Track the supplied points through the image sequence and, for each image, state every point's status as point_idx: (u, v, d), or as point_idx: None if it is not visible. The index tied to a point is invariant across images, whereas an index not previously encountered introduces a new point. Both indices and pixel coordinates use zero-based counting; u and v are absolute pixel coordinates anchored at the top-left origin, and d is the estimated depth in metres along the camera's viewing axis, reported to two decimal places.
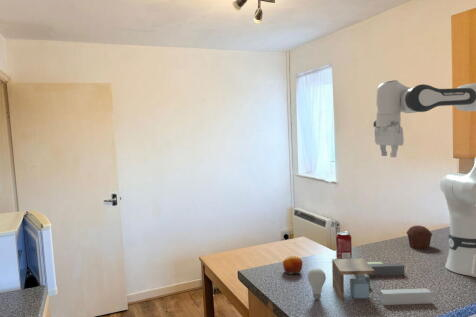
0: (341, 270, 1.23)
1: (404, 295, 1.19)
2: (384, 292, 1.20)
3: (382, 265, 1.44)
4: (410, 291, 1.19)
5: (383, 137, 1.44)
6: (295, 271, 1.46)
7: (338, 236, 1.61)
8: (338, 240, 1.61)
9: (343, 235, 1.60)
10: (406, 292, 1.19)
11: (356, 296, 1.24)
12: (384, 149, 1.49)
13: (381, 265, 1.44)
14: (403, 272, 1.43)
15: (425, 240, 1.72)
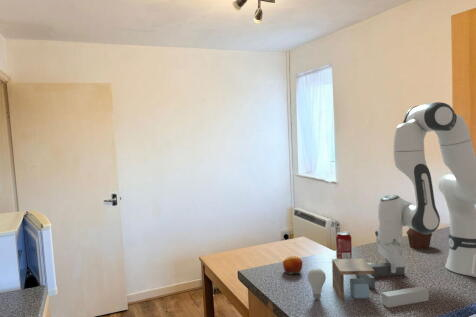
0: (341, 270, 1.23)
1: (405, 295, 1.18)
2: (387, 294, 1.18)
3: (383, 265, 1.43)
4: (410, 291, 1.20)
5: (385, 250, 1.44)
6: (295, 271, 1.46)
7: (338, 236, 1.61)
8: (338, 240, 1.61)
9: (343, 235, 1.60)
10: (407, 292, 1.19)
11: (356, 296, 1.24)
12: (388, 261, 1.47)
13: (382, 265, 1.43)
14: (403, 271, 1.43)
15: (425, 240, 1.72)
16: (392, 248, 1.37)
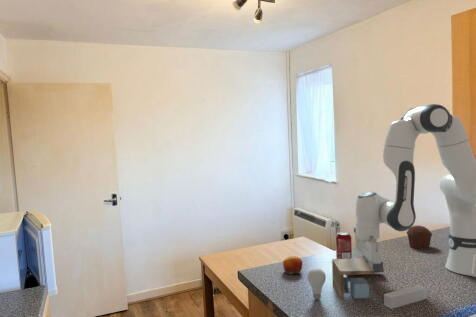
0: (341, 270, 1.23)
1: (406, 295, 1.18)
2: (390, 296, 1.17)
3: None
4: (410, 291, 1.20)
5: (362, 247, 1.44)
6: (295, 271, 1.46)
7: (338, 236, 1.61)
8: (338, 240, 1.61)
9: (343, 235, 1.60)
10: (408, 292, 1.19)
11: (356, 296, 1.24)
12: (366, 258, 1.47)
13: None
14: (382, 268, 1.43)
15: (425, 240, 1.72)
16: (368, 245, 1.37)
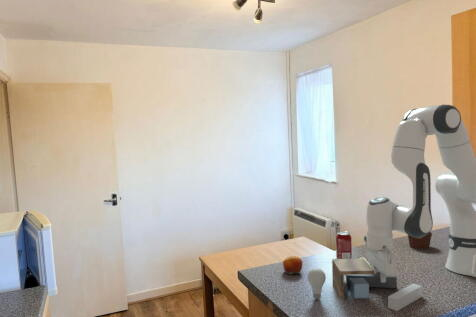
0: (341, 270, 1.23)
1: (408, 295, 1.18)
2: (395, 297, 1.15)
3: (371, 275, 1.33)
4: (409, 290, 1.20)
5: (374, 257, 1.33)
6: (295, 271, 1.46)
7: (338, 236, 1.61)
8: (338, 240, 1.61)
9: (343, 235, 1.60)
10: (408, 292, 1.19)
11: (356, 296, 1.24)
12: (378, 269, 1.35)
13: (370, 275, 1.33)
14: (396, 284, 1.30)
15: (425, 240, 1.72)
16: (381, 256, 1.25)
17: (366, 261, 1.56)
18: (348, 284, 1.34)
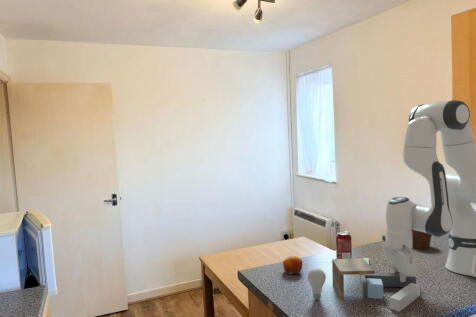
0: (341, 270, 1.23)
1: (408, 295, 1.18)
2: (397, 298, 1.15)
3: (390, 275, 1.32)
4: (409, 290, 1.20)
5: (393, 257, 1.32)
6: (295, 271, 1.46)
7: (338, 236, 1.61)
8: (338, 240, 1.61)
9: (343, 235, 1.60)
10: (409, 292, 1.19)
11: (369, 296, 1.24)
12: (396, 268, 1.35)
13: (389, 275, 1.32)
14: None
15: (425, 240, 1.72)
16: (401, 255, 1.25)
17: (367, 261, 1.56)
18: None
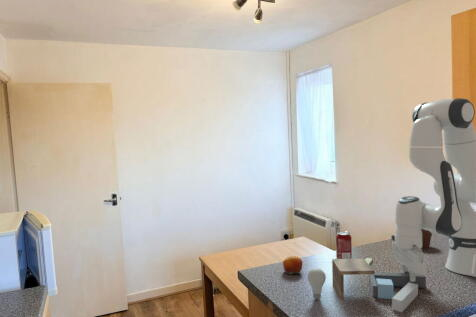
0: (341, 270, 1.23)
1: (409, 295, 1.18)
2: (399, 299, 1.14)
3: (400, 274, 1.32)
4: (409, 290, 1.20)
5: (403, 256, 1.32)
6: (295, 271, 1.46)
7: (338, 236, 1.61)
8: (338, 240, 1.61)
9: (343, 235, 1.60)
10: (409, 292, 1.19)
11: (380, 296, 1.24)
12: (406, 268, 1.35)
13: (398, 274, 1.32)
14: (425, 283, 1.29)
15: (425, 240, 1.72)
16: (412, 254, 1.25)
17: (368, 261, 1.55)
18: None
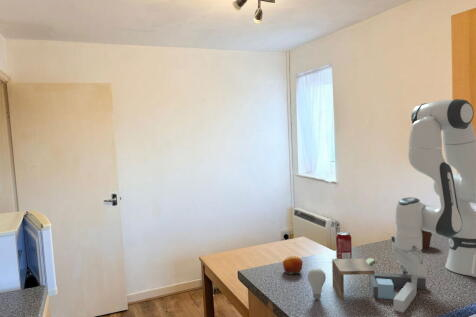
0: (341, 270, 1.23)
1: (409, 295, 1.18)
2: (400, 299, 1.14)
3: (400, 276, 1.32)
4: (408, 290, 1.21)
5: (403, 258, 1.32)
6: (295, 271, 1.46)
7: (338, 236, 1.61)
8: (338, 240, 1.61)
9: (343, 235, 1.60)
10: (409, 292, 1.19)
11: (380, 296, 1.24)
12: (404, 268, 1.36)
13: (399, 276, 1.32)
14: (424, 285, 1.29)
15: (425, 240, 1.72)
16: (412, 256, 1.25)
17: (369, 262, 1.55)
18: None
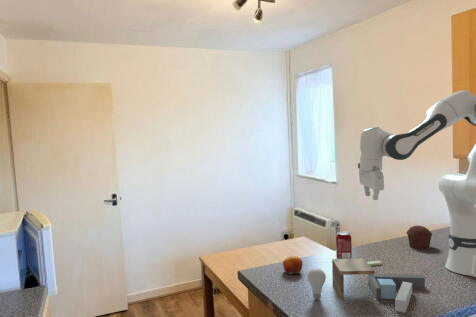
0: (341, 270, 1.23)
1: (408, 294, 1.19)
2: (402, 299, 1.14)
3: (399, 276, 1.32)
4: (407, 289, 1.21)
5: (366, 179, 1.54)
6: (295, 271, 1.46)
7: (338, 236, 1.61)
8: (338, 240, 1.61)
9: (343, 235, 1.60)
10: (408, 292, 1.19)
11: (382, 296, 1.23)
12: (368, 189, 1.58)
13: (398, 276, 1.32)
14: (424, 284, 1.30)
15: (425, 240, 1.72)
16: (372, 174, 1.46)
17: (371, 263, 1.54)
18: None
